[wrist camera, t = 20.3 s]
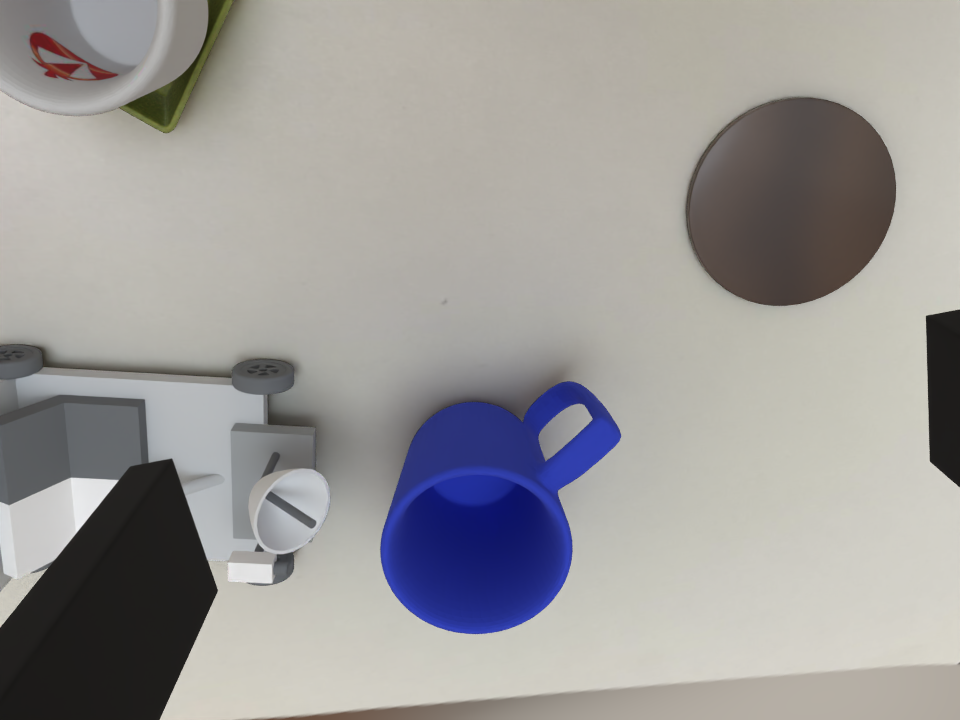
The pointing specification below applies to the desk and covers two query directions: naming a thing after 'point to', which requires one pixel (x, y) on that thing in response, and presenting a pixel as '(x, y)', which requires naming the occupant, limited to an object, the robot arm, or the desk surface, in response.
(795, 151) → the coaster
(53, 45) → the cup
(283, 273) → the desk surface
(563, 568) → the mug
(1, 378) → the toy car
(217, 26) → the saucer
